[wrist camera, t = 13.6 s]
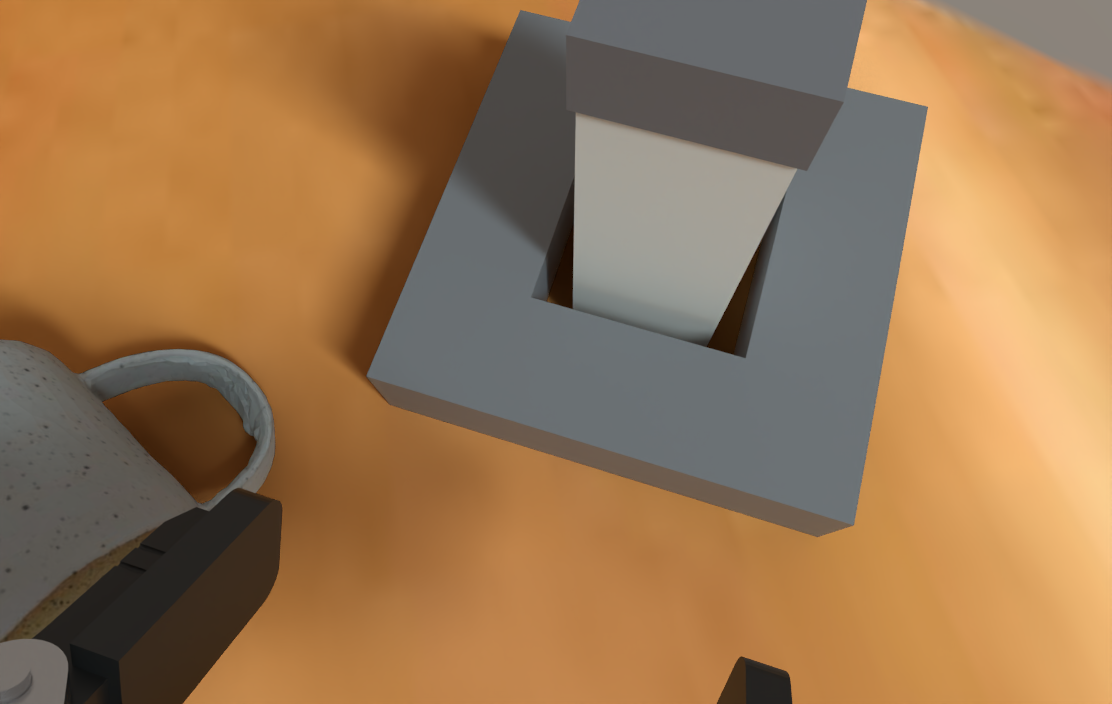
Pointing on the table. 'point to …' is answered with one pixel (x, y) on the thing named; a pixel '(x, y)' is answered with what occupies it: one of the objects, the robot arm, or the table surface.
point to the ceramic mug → (92, 472)
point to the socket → (647, 357)
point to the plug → (692, 144)
